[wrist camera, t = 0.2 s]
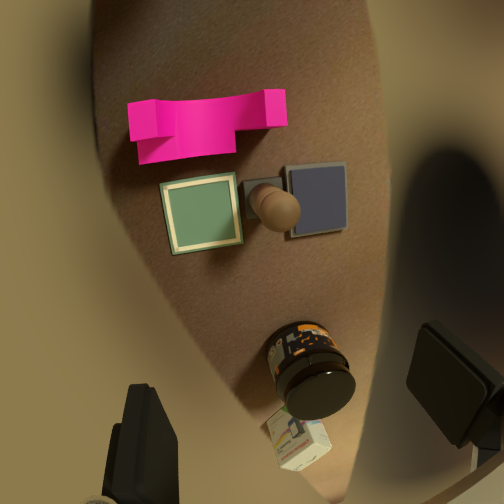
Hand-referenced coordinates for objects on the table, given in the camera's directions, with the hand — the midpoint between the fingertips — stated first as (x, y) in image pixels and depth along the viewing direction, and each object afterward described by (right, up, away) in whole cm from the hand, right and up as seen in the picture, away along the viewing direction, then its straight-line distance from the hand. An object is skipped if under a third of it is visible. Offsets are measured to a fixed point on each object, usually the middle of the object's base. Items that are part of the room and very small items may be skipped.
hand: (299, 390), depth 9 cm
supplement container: (+5, -10, +37) cm, 39 cm away
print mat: (-8, +9, +27) cm, 30 cm away
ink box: (+5, -25, +43) cm, 50 cm away
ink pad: (+7, +11, +29) cm, 32 cm away
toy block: (-7, +19, +24) cm, 32 cm away
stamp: (0, +11, +28) cm, 30 cm away
